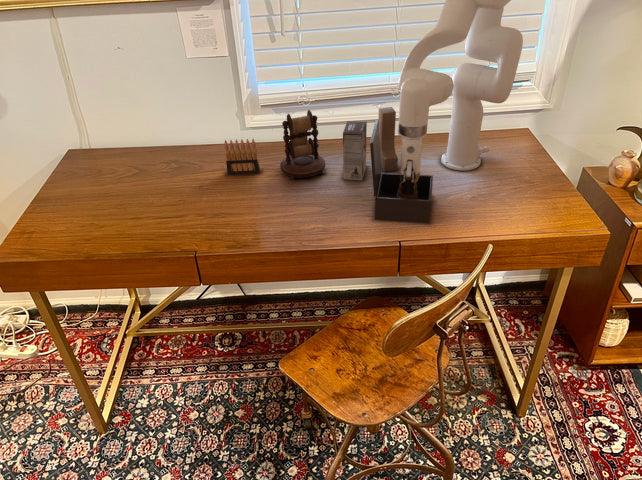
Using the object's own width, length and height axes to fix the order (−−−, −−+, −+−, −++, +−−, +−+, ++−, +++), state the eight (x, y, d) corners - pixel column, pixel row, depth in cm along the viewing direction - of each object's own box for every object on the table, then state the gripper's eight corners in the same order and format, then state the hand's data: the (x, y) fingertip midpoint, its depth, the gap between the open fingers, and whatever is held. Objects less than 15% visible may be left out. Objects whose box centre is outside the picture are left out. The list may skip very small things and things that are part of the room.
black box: (430, 196, 164) (432, 175, 160) (429, 223, 154) (431, 201, 149) (379, 193, 167) (380, 172, 163) (374, 219, 156) (375, 198, 152)
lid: (378, 119, 152) (375, 119, 152) (373, 142, 141) (369, 142, 142) (381, 171, 162) (378, 171, 162) (376, 196, 151) (373, 196, 151)
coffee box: (347, 165, 182) (346, 120, 171) (366, 167, 180) (367, 120, 170) (342, 179, 175) (342, 132, 164) (362, 180, 173) (363, 133, 163)
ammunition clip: (227, 174, 181) (222, 141, 173) (228, 172, 182) (222, 138, 174) (259, 173, 180) (255, 139, 173) (260, 170, 182) (256, 137, 174)
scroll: (316, 156, 188) (314, 99, 175) (331, 176, 177) (330, 117, 164) (275, 164, 184) (270, 107, 172) (288, 185, 174) (283, 126, 161)
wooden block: (397, 170, 178) (400, 117, 166) (384, 171, 177) (386, 119, 166) (389, 157, 185) (392, 106, 173) (376, 159, 184) (378, 107, 173)
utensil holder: (404, 198, 163) (407, 162, 155) (421, 205, 159) (425, 169, 152) (392, 206, 160) (394, 169, 152) (409, 214, 156) (412, 177, 149)
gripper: (426, 143, 137) (420, 203, 148) (428, 115, 150) (422, 172, 161) (396, 142, 138) (392, 201, 150) (400, 114, 152) (397, 170, 163)
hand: (408, 186), depth 155 cm, fingers open, 7 cm apart
